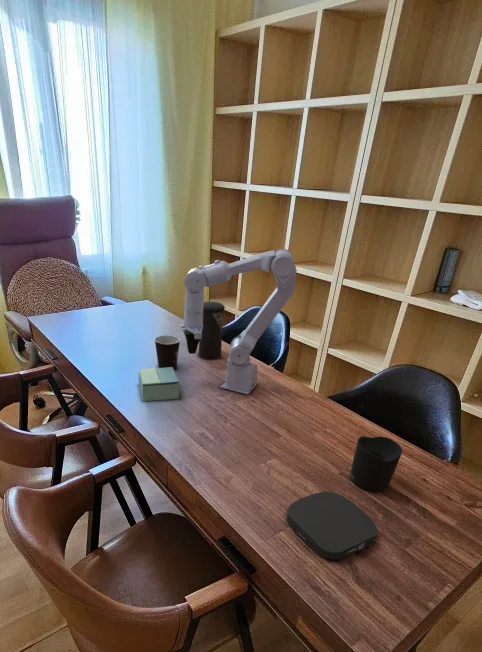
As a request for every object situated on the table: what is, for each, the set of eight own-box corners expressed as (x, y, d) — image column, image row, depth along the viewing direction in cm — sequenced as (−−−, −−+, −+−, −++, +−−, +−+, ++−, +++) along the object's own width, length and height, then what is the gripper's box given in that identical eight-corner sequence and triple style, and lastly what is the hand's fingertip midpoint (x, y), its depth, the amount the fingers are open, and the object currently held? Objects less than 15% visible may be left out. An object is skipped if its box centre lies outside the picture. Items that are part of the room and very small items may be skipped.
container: (221, 360, 158) (225, 307, 147) (197, 359, 158) (199, 305, 147) (221, 351, 165) (224, 300, 155) (197, 350, 165) (200, 299, 155)
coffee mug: (168, 373, 146) (168, 346, 141) (150, 366, 150) (149, 339, 145) (189, 363, 154) (190, 337, 149) (171, 357, 158) (172, 331, 153)
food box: (172, 383, 140) (172, 366, 137) (178, 398, 131) (179, 381, 128) (139, 385, 137) (138, 368, 134) (143, 401, 128) (142, 384, 125)
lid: (172, 368, 137) (172, 366, 137) (178, 382, 128) (178, 381, 128) (156, 369, 136) (155, 368, 136) (161, 384, 127) (161, 383, 127)
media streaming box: (331, 495, 95) (333, 485, 93) (383, 540, 84) (387, 529, 82) (278, 515, 88) (280, 505, 87) (327, 567, 77) (330, 555, 76)
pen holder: (357, 463, 105) (366, 429, 100) (395, 479, 100) (407, 445, 95) (341, 481, 99) (351, 446, 94) (381, 499, 94) (394, 463, 89)
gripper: (176, 304, 134) (175, 344, 141) (185, 318, 122) (184, 362, 129) (198, 303, 135) (196, 344, 142) (209, 317, 123) (206, 361, 130)
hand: (191, 352), depth 136 cm, fingers closed
